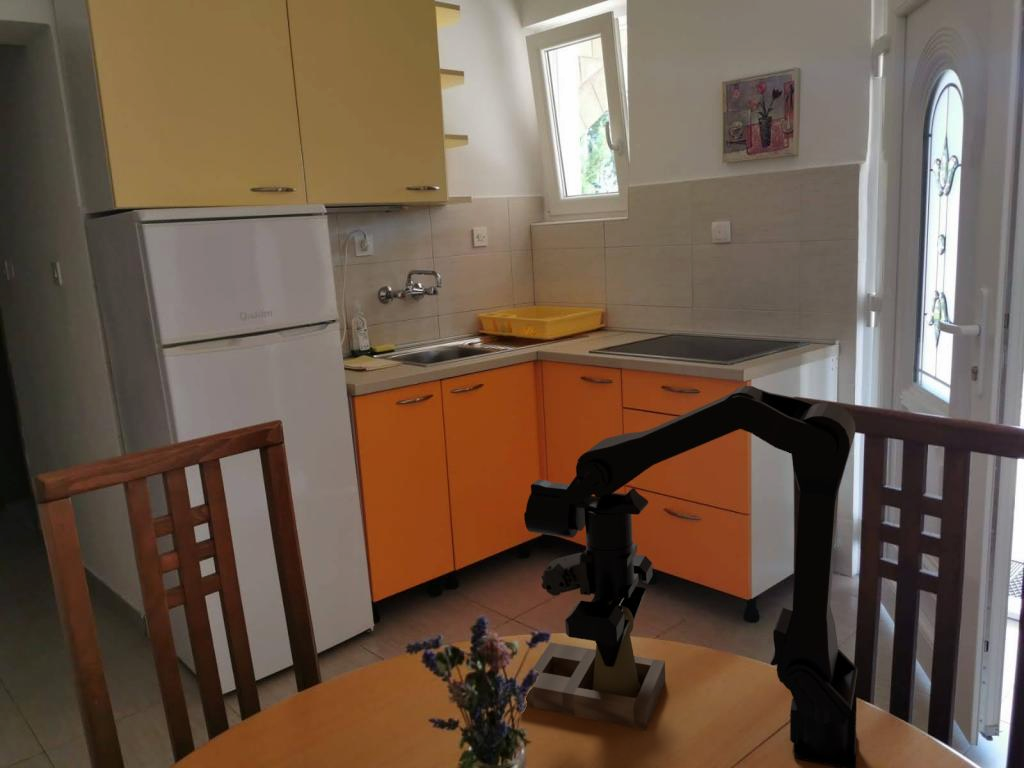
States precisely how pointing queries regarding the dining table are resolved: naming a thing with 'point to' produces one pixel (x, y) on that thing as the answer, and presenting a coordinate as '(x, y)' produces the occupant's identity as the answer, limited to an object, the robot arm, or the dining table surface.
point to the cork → (618, 667)
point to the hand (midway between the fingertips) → (614, 655)
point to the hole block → (569, 693)
